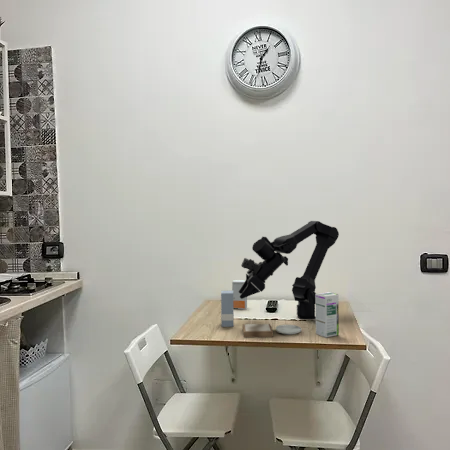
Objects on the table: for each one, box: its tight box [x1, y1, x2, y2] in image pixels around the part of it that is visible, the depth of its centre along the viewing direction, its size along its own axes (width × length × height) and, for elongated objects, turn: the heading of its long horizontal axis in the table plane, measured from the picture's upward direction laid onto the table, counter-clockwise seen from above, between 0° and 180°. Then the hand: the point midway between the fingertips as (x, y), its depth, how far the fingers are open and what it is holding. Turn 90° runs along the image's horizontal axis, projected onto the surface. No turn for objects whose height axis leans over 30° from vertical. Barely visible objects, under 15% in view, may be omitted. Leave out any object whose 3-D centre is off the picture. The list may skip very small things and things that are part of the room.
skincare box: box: [231, 279, 248, 310], centre depth 207 cm, size 6×4×12 cm
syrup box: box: [315, 291, 340, 338], centre depth 167 cm, size 6×6×14 cm
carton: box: [220, 290, 235, 328], centre depth 181 cm, size 5×5×12 cm
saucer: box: [275, 324, 302, 335], centre depth 170 cm, size 9×9×2 cm
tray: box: [242, 323, 274, 338], centre depth 170 cm, size 10×10×2 cm
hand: (239, 295), depth 180 cm, fingers open, 9 cm apart
